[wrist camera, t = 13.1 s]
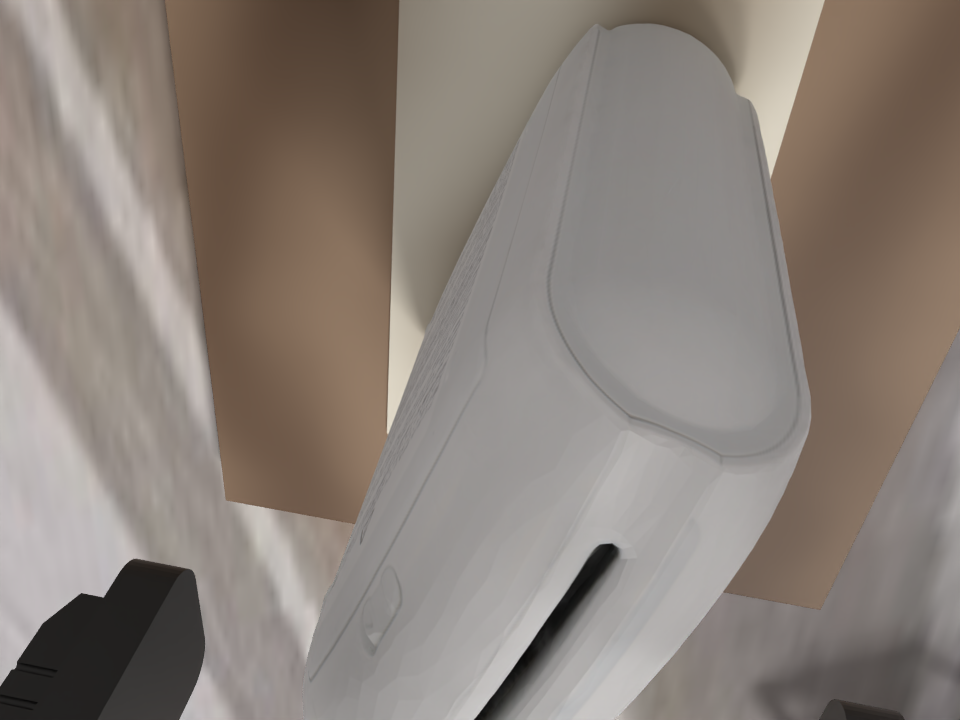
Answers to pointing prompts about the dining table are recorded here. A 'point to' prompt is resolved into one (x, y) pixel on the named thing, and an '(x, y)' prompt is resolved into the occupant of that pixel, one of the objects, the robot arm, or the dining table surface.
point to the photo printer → (580, 411)
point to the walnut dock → (470, 180)
